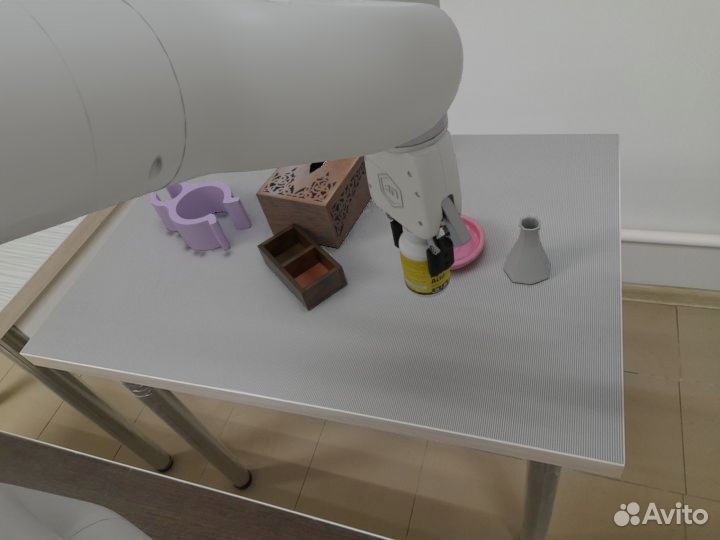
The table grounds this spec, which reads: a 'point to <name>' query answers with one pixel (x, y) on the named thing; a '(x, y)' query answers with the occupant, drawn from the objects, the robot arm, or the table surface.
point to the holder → (303, 266)
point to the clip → (200, 213)
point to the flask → (528, 254)
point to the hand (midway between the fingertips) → (423, 253)
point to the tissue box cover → (316, 198)
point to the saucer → (469, 244)
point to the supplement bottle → (420, 266)
